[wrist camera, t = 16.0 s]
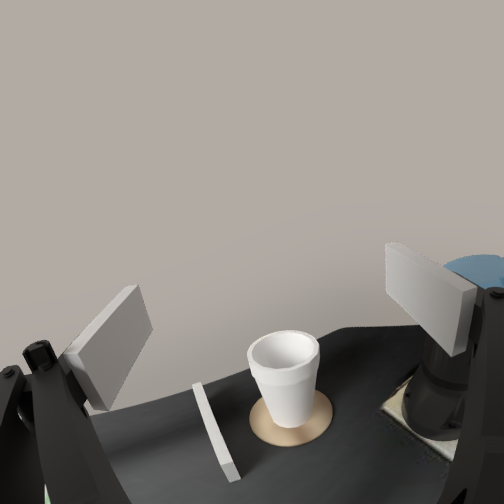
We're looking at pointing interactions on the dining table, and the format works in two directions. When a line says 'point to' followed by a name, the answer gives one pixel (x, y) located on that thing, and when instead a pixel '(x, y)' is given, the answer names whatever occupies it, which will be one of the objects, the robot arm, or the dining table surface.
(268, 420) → the cork coaster
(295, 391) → the foam cup
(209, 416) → the low wall
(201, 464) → the dining table surface
